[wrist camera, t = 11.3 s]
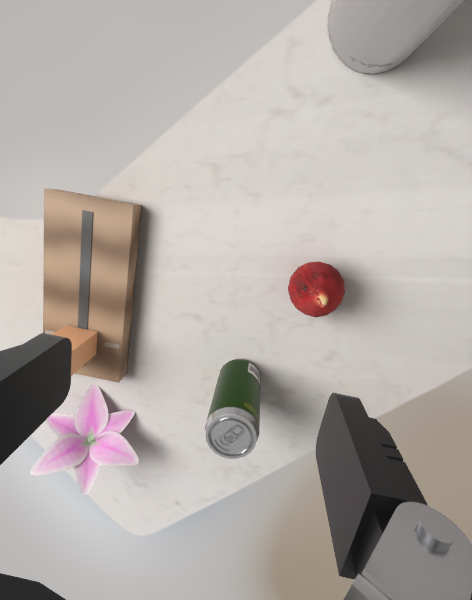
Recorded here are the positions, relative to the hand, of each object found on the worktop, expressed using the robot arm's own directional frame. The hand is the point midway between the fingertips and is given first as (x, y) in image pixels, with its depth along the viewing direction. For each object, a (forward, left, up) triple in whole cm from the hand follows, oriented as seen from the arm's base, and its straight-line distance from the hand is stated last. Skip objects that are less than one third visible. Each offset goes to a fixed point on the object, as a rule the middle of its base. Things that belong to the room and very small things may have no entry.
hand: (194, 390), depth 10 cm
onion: (+2, +8, -30) cm, 31 cm away
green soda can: (+16, +2, -30) cm, 34 cm away
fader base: (+8, -18, -30) cm, 36 cm away
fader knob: (+14, -18, -27) cm, 35 cm away
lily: (+27, -15, -30) cm, 43 cm away
